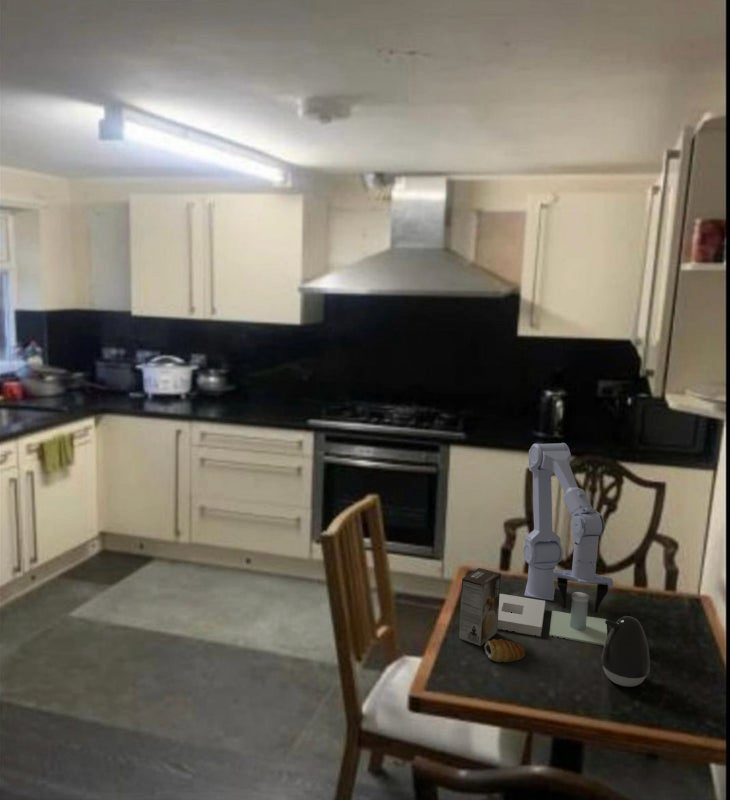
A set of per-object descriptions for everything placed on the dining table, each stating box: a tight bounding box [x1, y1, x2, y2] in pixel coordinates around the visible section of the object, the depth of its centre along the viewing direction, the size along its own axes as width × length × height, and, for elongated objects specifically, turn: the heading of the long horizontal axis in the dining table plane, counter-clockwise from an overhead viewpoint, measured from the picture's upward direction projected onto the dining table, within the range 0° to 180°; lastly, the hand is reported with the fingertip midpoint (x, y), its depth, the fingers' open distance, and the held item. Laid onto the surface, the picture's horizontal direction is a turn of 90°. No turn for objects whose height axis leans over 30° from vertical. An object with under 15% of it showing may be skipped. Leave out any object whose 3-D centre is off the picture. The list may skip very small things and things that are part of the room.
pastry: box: [483, 638, 526, 663], centre depth 169 cm, size 9×7×4 cm
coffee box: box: [458, 567, 502, 647], centre depth 177 cm, size 9×6×16 cm
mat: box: [548, 610, 608, 647], centre depth 184 cm, size 14×14×1 cm
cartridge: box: [570, 591, 590, 630], centre depth 183 cm, size 4×4×8 cm
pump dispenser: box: [600, 615, 651, 688], centre depth 159 cm, size 10×10×15 cm
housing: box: [497, 593, 546, 637], centre depth 188 cm, size 16×16×2 cm
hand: (580, 608), depth 183 cm, fingers open, 7 cm apart
